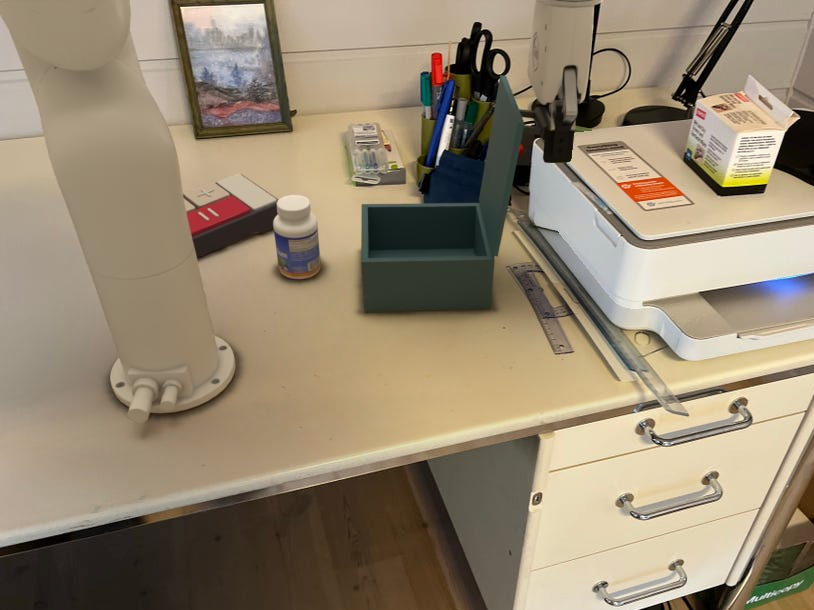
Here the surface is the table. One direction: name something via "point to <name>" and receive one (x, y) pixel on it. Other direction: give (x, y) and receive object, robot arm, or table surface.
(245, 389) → the table surface
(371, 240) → the case
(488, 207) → the lid
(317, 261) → the pill bottle
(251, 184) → the calculator
